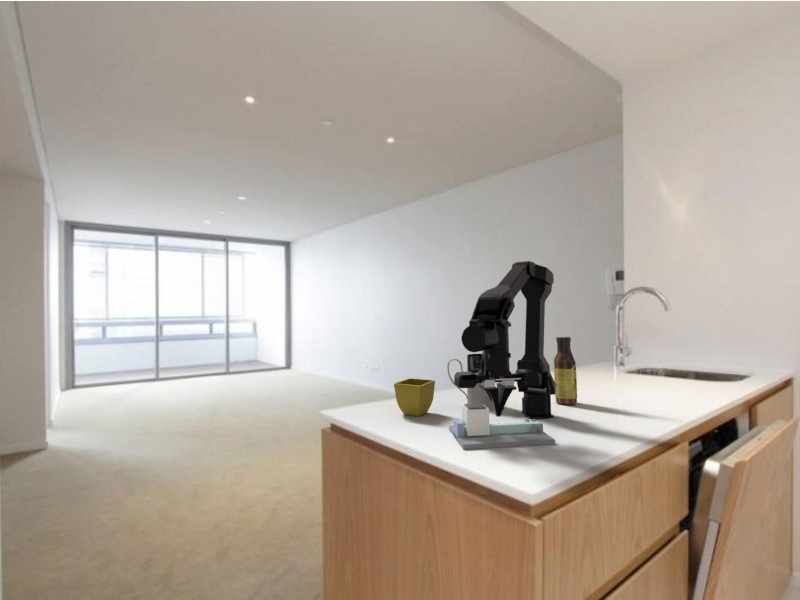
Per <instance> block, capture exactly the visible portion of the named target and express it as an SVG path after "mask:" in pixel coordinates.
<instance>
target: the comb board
mask: <svg viewBox="0 0 800 600" xmlns="http://www.w3.org/2000/svg"><path fill="white" fill-rule="evenodd" d="M452 421H453V425H449V426H448V430H449V432H450V433H451V435H452V436H453V438H454V439H455V440H456V442H457V443H458V444H459V445H460V447H461V448H462V449H463V450H475V449H476V450H479V449H492V448H509V447H511V448H512V447H529V446H531V447H532V446H547V445H548V446H549V445H556V439H555V438H553V436H551V435H549V434H548V433H546V432H545V431H544V423H542V422H539V421H537V418H531V420H530V419H524V421H520V422H519V421H518V422H517V421H515V422H504V423H503V422H502V423H501V422H498V423H489V426H490V435H479V436H467V435H466V424H465V425H464V423H463V422H462V418H453V419H452Z"/></svg>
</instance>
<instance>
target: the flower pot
mask: <svg viewBox="0 0 800 600" xmlns="http://www.w3.org/2000/svg"><path fill="white" fill-rule="evenodd" d="M435 386H436V380H435V379H425V378H424V379H421V378H414V377H410V378H406V379H404V380H400V381H397V382H394V383H393V388H394V393H395V399H396V403H397V405H398V408H399V410H400V411H401V412H402V413H403V415H409V416H415V417H419V416H422V415H424V414H427V413H428V412H429V409H430V408H431V406H432V403H433V400H434V395H435Z"/></svg>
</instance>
